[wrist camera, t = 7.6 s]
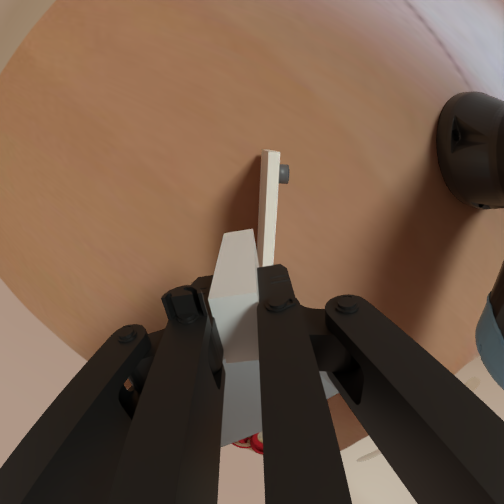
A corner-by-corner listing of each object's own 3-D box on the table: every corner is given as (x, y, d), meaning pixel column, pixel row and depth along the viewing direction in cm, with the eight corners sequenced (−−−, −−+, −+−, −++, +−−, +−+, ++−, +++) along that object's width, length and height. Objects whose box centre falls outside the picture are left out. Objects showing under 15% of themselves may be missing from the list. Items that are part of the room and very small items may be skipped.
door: (273, 282, 31) (283, 327, 23) (254, 281, 31) (258, 327, 23) (282, 150, 26) (299, 153, 18) (260, 149, 26) (267, 151, 18)
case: (264, 279, 32) (273, 336, 22) (321, 341, 35) (341, 399, 26) (149, 360, 36) (130, 415, 26) (209, 404, 39) (205, 458, 30)
